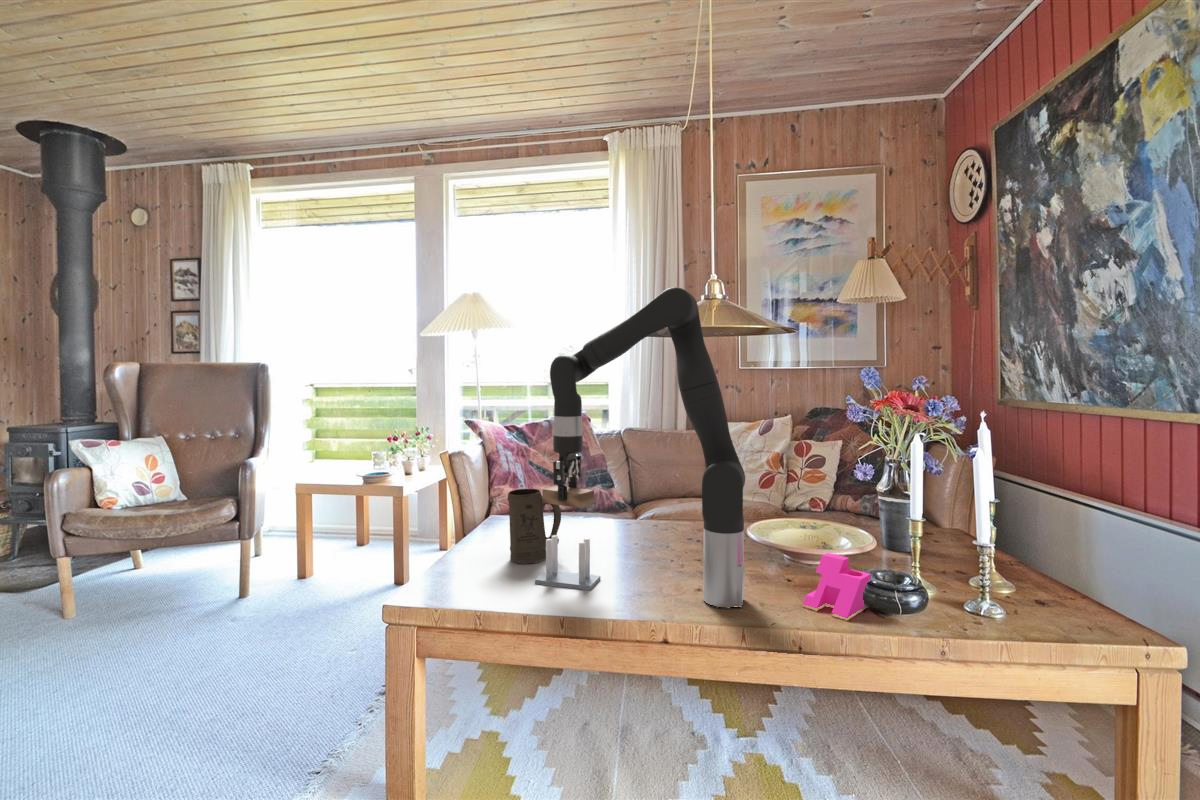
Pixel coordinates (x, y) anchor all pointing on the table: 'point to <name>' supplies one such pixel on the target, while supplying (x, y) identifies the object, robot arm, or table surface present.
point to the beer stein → (529, 525)
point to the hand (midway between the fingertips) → (567, 497)
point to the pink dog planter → (838, 586)
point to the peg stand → (567, 578)
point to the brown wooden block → (569, 497)
